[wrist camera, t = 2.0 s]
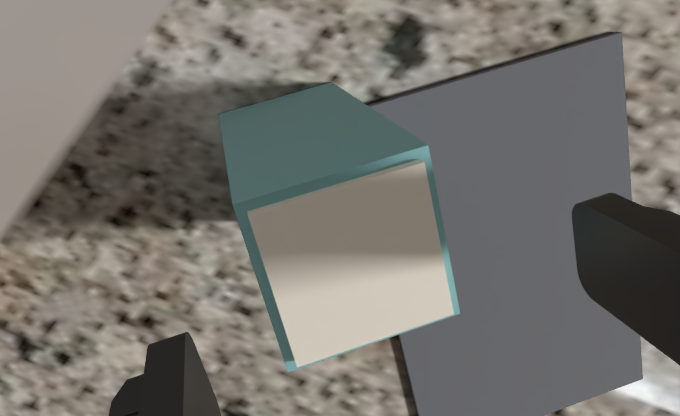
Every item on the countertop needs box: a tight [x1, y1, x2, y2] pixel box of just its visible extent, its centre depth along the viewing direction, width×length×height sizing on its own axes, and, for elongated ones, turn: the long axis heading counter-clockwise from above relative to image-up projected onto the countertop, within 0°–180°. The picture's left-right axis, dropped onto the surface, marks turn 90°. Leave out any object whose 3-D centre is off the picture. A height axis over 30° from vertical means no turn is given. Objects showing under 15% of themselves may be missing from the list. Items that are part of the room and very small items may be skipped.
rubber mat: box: [367, 32, 643, 416], centre depth 27 cm, size 18×12×1 cm, turn 14°
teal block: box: [218, 82, 460, 372], centre depth 19 cm, size 4×4×11 cm
